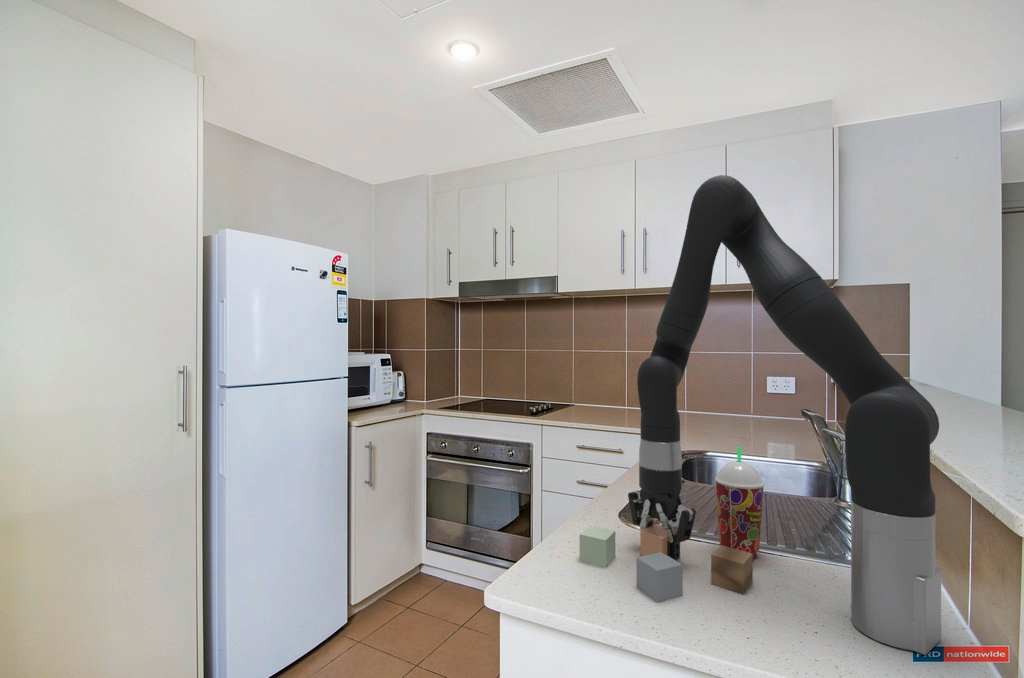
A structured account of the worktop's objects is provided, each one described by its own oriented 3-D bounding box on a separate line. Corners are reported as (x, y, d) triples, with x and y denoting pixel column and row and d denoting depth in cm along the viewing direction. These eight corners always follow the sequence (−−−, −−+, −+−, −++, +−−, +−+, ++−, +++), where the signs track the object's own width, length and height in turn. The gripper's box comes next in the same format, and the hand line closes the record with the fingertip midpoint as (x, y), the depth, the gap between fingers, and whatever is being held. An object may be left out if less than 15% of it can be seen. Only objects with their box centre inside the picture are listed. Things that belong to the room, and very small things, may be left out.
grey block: (682, 596, 78) (682, 564, 78) (657, 603, 75) (657, 570, 75) (660, 582, 82) (660, 552, 82) (636, 588, 80) (636, 557, 80)
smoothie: (758, 567, 87) (758, 454, 87) (709, 554, 92) (709, 447, 92) (767, 551, 94) (767, 446, 94) (721, 540, 99) (721, 440, 99)
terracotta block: (680, 559, 90) (680, 532, 90) (662, 566, 88) (662, 538, 88) (658, 550, 94) (658, 524, 94) (640, 556, 92) (640, 529, 92)
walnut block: (752, 583, 82) (752, 553, 82) (743, 595, 78) (743, 563, 78) (721, 574, 85) (721, 545, 85) (711, 585, 81) (711, 554, 81)
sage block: (615, 557, 91) (615, 530, 91) (605, 568, 87) (605, 540, 87) (589, 551, 94) (590, 525, 94) (579, 561, 90) (579, 534, 90)
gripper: (706, 469, 87) (706, 565, 87) (643, 453, 99) (643, 538, 99) (679, 475, 83) (679, 576, 83) (617, 458, 95) (617, 547, 95)
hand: (660, 555), depth 91 cm, fingers closed on terracotta block, 5 cm apart
